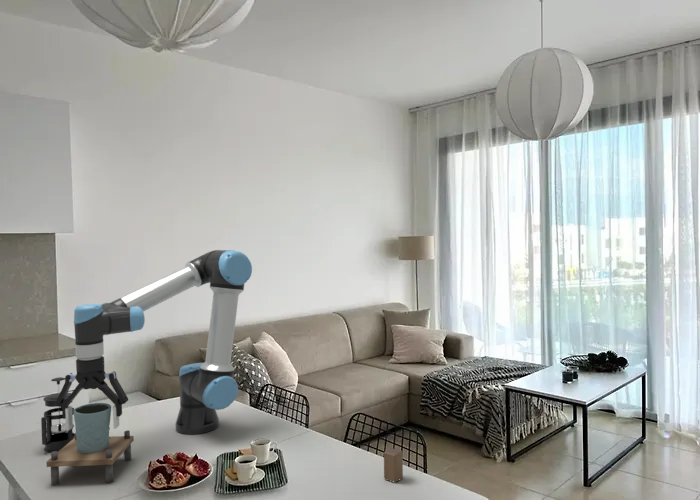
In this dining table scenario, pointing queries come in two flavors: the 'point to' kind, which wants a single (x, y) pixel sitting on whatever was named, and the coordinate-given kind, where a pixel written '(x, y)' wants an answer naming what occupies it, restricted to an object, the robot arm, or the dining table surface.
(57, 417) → the french press
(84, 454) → the wooden board with feet
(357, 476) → the dining table surface
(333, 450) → the dining table surface
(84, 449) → the teal plant pot
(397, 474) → the wooden block
